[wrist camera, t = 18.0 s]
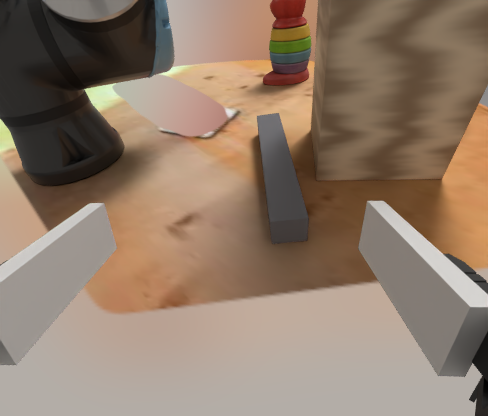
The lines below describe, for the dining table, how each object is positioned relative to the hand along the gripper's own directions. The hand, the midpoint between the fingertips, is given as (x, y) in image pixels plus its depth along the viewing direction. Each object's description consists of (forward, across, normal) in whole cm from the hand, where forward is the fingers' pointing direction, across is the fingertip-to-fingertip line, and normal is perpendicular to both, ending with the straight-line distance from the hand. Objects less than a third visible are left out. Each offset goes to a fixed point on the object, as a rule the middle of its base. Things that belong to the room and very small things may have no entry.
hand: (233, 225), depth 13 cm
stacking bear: (+60, +9, +8) cm, 61 cm away
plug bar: (+22, +4, -4) cm, 23 cm away
